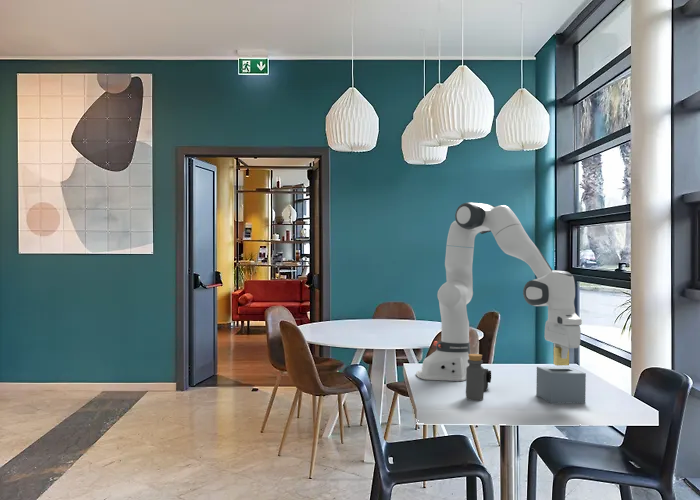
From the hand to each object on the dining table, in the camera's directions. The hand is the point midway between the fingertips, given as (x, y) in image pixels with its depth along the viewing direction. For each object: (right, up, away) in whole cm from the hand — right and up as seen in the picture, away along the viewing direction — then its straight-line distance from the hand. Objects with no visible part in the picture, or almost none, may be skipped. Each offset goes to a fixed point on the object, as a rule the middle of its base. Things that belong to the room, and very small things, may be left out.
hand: (561, 357), depth 202 cm
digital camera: (-25, -14, +12) cm, 31 cm away
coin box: (0, -14, 0) cm, 14 cm away
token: (0, -3, 0) cm, 3 cm away
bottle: (-30, -14, -2) cm, 33 cm away
